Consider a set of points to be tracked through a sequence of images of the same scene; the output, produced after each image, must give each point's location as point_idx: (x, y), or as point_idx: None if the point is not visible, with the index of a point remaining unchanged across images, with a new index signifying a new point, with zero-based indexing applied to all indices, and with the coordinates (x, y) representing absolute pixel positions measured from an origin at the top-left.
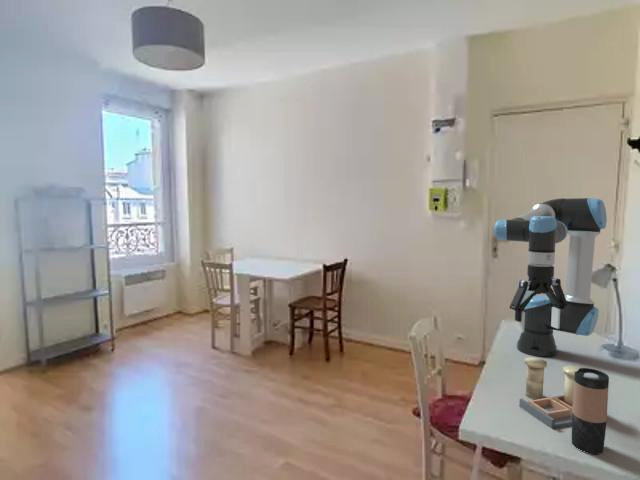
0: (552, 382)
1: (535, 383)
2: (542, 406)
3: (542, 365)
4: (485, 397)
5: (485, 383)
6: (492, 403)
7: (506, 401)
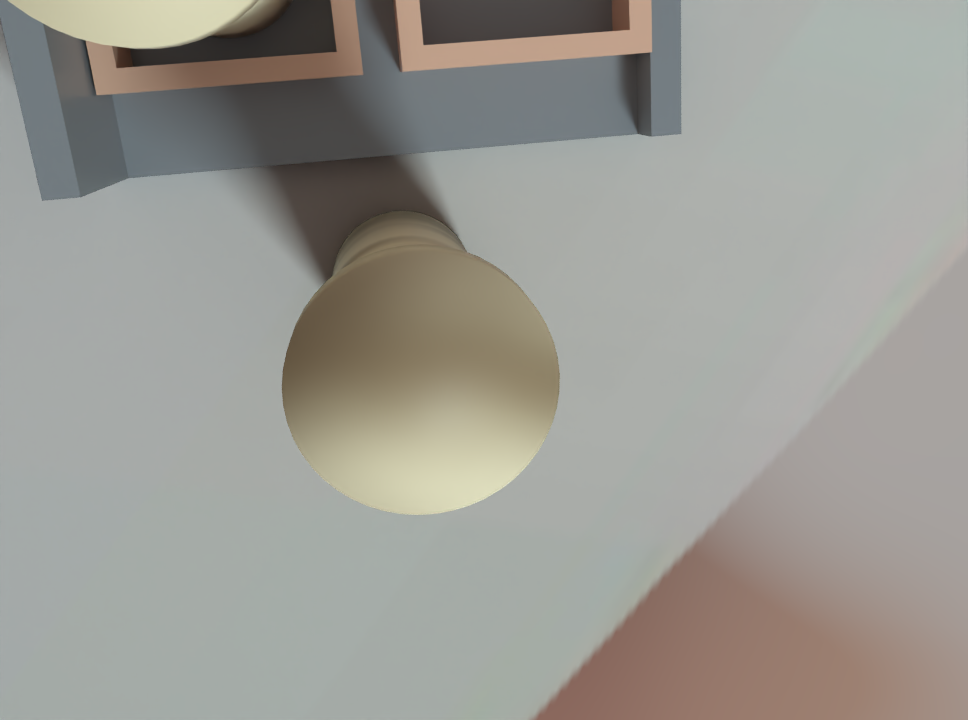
0: (53, 495)
1: (455, 247)
2: (502, 33)
3: (420, 251)
4: (819, 326)
5: (662, 548)
6: (833, 222)
7: (700, 233)
